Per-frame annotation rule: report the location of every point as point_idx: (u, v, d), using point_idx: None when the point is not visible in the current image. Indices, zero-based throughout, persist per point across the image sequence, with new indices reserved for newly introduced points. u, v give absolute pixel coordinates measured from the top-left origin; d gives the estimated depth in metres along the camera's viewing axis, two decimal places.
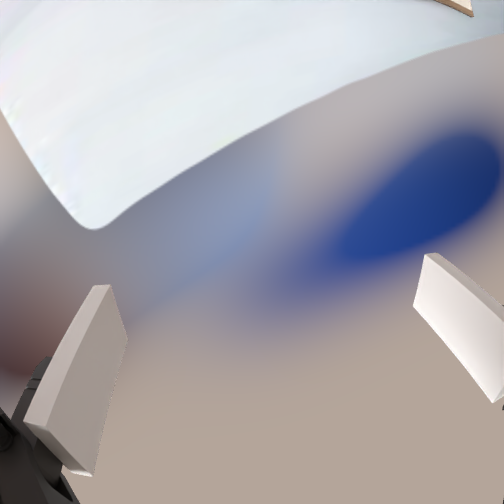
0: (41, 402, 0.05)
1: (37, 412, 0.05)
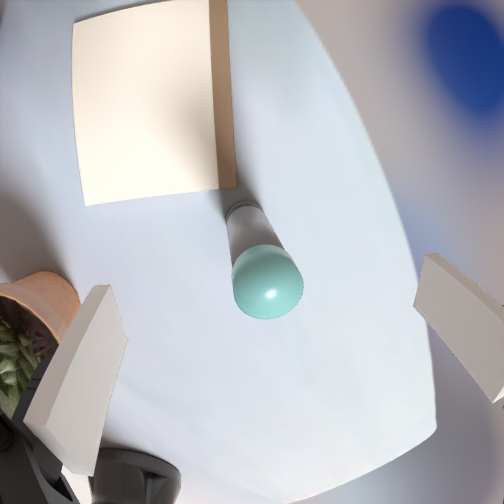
0: (41, 402, 0.05)
1: (37, 412, 0.05)
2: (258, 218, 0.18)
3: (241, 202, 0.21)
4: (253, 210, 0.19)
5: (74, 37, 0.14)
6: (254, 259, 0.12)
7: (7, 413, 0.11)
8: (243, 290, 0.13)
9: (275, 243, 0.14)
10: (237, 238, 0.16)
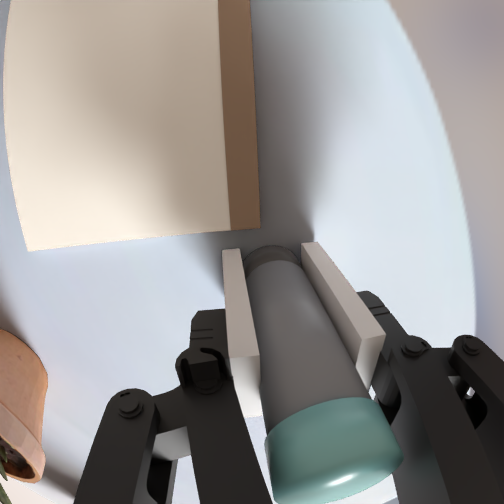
0: (240, 338, 0.08)
1: (241, 347, 0.07)
2: (302, 295, 0.10)
3: (266, 250, 0.13)
4: (290, 272, 0.11)
5: None
6: (325, 456, 0.05)
7: None
8: (293, 492, 0.05)
9: (351, 379, 0.06)
10: (271, 353, 0.08)
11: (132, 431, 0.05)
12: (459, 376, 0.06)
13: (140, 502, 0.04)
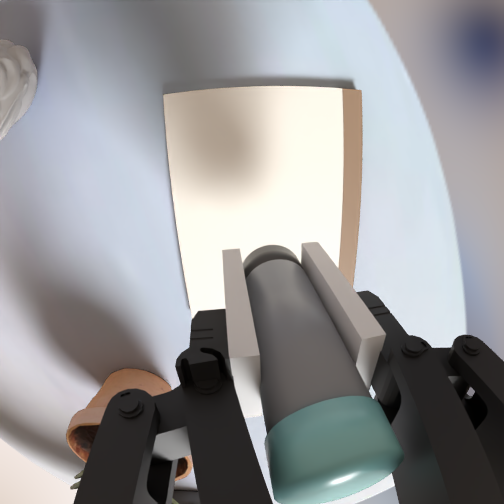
0: (240, 338, 0.08)
1: (241, 347, 0.07)
2: (302, 294, 0.10)
3: (266, 249, 0.13)
4: (290, 271, 0.11)
5: (167, 116, 0.14)
6: (325, 455, 0.05)
7: None
8: (293, 491, 0.05)
9: (351, 378, 0.06)
10: (271, 352, 0.08)
11: (132, 431, 0.05)
12: (459, 376, 0.06)
13: (140, 502, 0.04)
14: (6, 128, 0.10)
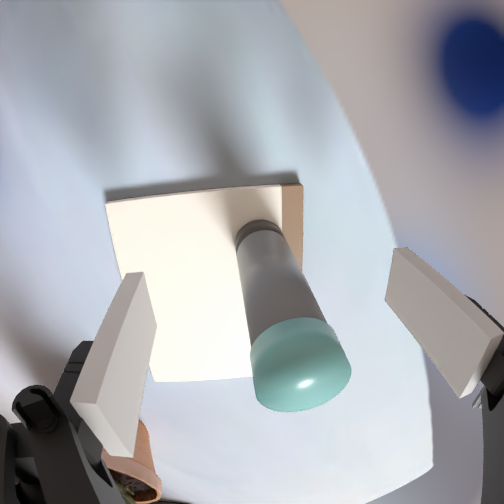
0: (88, 381, 0.06)
1: (85, 391, 0.06)
2: (281, 254, 0.13)
3: (255, 222, 0.16)
4: (273, 239, 0.14)
5: (111, 224, 0.16)
6: (288, 351, 0.08)
7: None
8: (269, 387, 0.08)
9: (312, 309, 0.10)
10: (256, 292, 0.11)
11: None
12: None
13: None
14: None
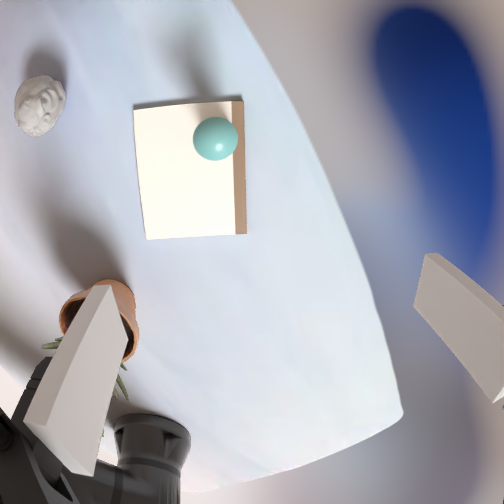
0: (41, 402, 0.05)
1: (37, 412, 0.05)
2: None
3: None
4: None
5: (135, 122, 0.27)
6: None
7: None
8: (198, 137, 0.19)
9: None
10: None
11: None
12: None
13: None
14: (51, 126, 0.22)
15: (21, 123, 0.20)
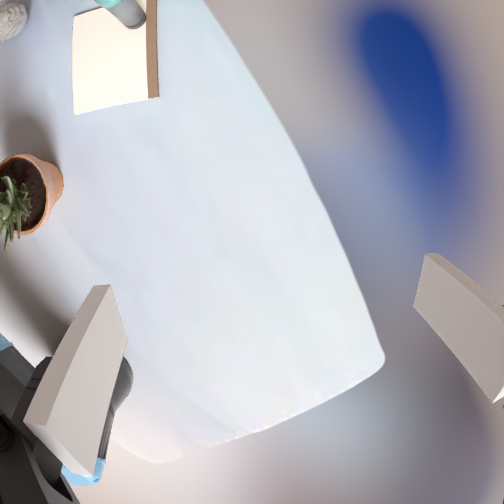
0: (41, 402, 0.05)
1: (37, 412, 0.05)
2: None
3: None
4: None
5: (74, 24, 0.24)
6: None
7: (1, 208, 0.21)
8: None
9: None
10: None
11: None
12: None
13: None
14: (12, 30, 0.19)
15: None
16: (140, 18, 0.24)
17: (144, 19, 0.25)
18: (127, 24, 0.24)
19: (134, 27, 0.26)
